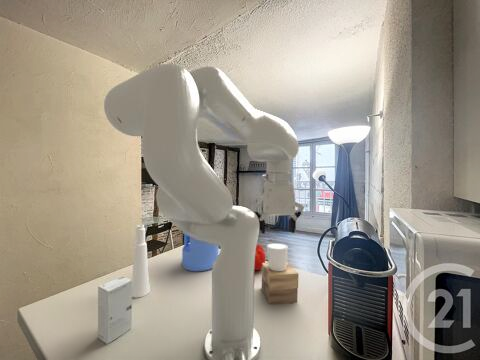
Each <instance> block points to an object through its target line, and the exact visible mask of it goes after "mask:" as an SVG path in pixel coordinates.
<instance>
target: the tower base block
mask: <svg viewBox="0 0 480 360" xmlns="http://www.w3.org/2000/svg"><path fill="white" fill-rule="evenodd" d="M298 289H299V287H298V288H294V289H282V290H269V288H268V286H267V284H266V282H265V281H264V279H263V277H262V276H261V290H262V291H263V294H264V296H265V299H266V301H267V303H268V305H275V304H288V303H298Z"/></svg>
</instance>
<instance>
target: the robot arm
mask: <svg viewBox="0 0 480 360" xmlns="http://www.w3.org/2000/svg"><path fill="white" fill-rule="evenodd" d="M103 110H104V114H105V116H106V119H107V120H108V122H109V123H110V124H111V126H112V127H113V128H114V129H116V130H117V131H118V132H120V133H122V134H124V135H127V136H131V137H141V145H142V146H141V147H142V156H143V157H142V158H143V162H144V165H145V169H146V171H147V172H148V174H149V177H150V178H151V179H152V180H153V182H154V183H155V184H156V185H158V189H157V191H156V196H155V200H156V205H157V208H158V210H159V211H160V213H161V214H162V216H164V218H166V219H167V221H169V222H171V223H172V224H173V225H174V226H175V227H177V228H178V229H179V230H181V232H182V231H184V232H185V233H186V234H188V235H189V236H190V237H192V238H194V239H195V240H198V241H201V242H204V243H208V244H212V245H215V246H218V248H219V249H220V251H219V253H218V257H217V258H216V260H215V261H214V263H213V267H212V269H211V329H210V330H209V331H208V332H207V334H206V336H205V338H204V346H203V347H204V353H205V356H206V357H207V359H208V360H256V359H257V358H258V357H259V354H260V351H261V337H260V335H259V333H258V331H257V330H256V329H255V326H254V325H255V324H254V323H255V321H254V320H255V318H254V317H255V270H254V264H255V252H256V245H258V240H259V239H258V238H259V235H260V232H261V233H262V234H265V233H266V221H265V218H267V216H289V220H288V231H289V232H291V233H292V234H294V233H295V231H296V229H297V228H296V227H297V225H296V224H297V221H298V219H299V218H300V217H301V215H302V212H303V211H304V208H305V206H303V205H302V204H300V203H299V202H296V197H295V195H296V194H295V188H294V183H291V167H292V166H291V162H292V161H291V160H293V159H295V158H296V157H297V155H298V153H299V141H298V138H297V135H296V134H295V132H294V130H293V129H292V128H291V126H290V125H289V123H287V122H286V121H285V120H283V119H281V118H279V117H277V116H274V115H272V114H269V113H267V112H264V111H261V110H258V109H255V108H254V107H253V106H252V105H251V104H250V102H249V101H248V100H247V99H246V98H245V96H244V95H243V93H241V92H240V91H239V89H238V88H237V87H236V86H235V85H234V83H233V82H232V81H231V80H230V79H229V78H228V76H226V74H225V72H223V71H222V70H221V69H219V68H217V67H214V66H202V67H199V68H195V69H193V70H191V71H188V70H186V69H185V68H184V67H182V66H180V65H177V64H174V63H172V64H171V63H165V64H160V65H156V66H152V67H150V68H148V69H145V70H143V71H141V72H139V73H137V74H136V75H133V76H132V77H130V78H129V79H126V80H124V81H122V82H121V83H118V84H117V85H115V86H114V87H112V88H111V89H110V90H109V91H108V92H107V94H106V95H105V99H104V101H103ZM201 118H202V119H203V118H204V119H206V120H207V121H209V123H211V124H212V125H214V126H215V127H216V128H218V129H219V130H220V131H221V132H223V133H224V134H225V135H227V136H228V137H229V138H230V139H232V140H235V141H239V142H244V143H247V148H246V149H247V150H246V151H247V154H248V156H249V157H250V158H251V159H252V160H254V162H255V161H256V162H260V163H261V162H263V163H264V162H265V163H266V172H265V174H262V175H261V179H262V180H265V182H264V183H263V188H262V194H261V195H262V196H261V200H260V201H258V202H256V203H254V204H252V205H251V206H250V208H251V209H250V208H247V207H244V206H241V205H234V203H233V202H234V201H233V197H232V194H231V192H230V190H229V189H228V187H227V185H226V184H225V183H224V182H223V181H222V180H221V178H220V177H219V175H218V174H217V173H216V172H215V171H214V169H213V167H211V165H210V164H209V163H208V161H207V160H206V159H205V157H204V156H203V154H202V151H201V150H200V146H199V143H198V123H199V119H201ZM260 207H261V212H260V213H259V212H258V210H257V209H258V208H260ZM296 208H297V210H296Z"/></svg>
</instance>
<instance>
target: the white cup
mask: <svg viewBox="0 0 480 360" xmlns="http://www.w3.org/2000/svg"><path fill="white" fill-rule="evenodd" d="M288 251H289V246H288V245H286V244H285V243H279V242H278V243H276V242H275V243H269V244H266V252H267V253H266V254H267V263H268V266H269V269H271V270H273V271H284V270H286V265H287V262H288V253H289V252H288Z"/></svg>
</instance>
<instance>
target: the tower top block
mask: <svg viewBox="0 0 480 360" xmlns="http://www.w3.org/2000/svg"><path fill="white" fill-rule="evenodd" d="M262 277H263V279H264V281H265V282H266V284H267V286H268V288H269V290H282V289H294V288H298V289H299V272H297V270H296V269H295V268H294V267H293V266H292V265H291V264H290V263H289V262H288V261H287V265H286V270H284V271H273V270H271V269H269V266H268V262H265V263H262V269H261V278H262Z"/></svg>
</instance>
